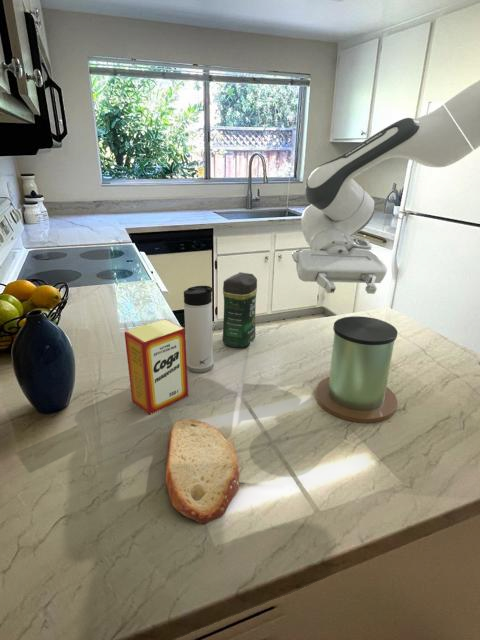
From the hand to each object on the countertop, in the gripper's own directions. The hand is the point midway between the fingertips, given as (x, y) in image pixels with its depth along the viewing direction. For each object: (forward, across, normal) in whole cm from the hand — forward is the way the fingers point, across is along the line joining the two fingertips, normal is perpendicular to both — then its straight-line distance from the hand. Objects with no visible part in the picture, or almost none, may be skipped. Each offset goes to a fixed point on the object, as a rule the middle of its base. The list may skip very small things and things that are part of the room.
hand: (352, 291), depth 85 cm
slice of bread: (+30, -34, +12) cm, 47 cm away
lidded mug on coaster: (+18, -1, +14) cm, 22 cm away
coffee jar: (-12, -18, +29) cm, 36 cm away
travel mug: (0, -30, +25) cm, 39 cm away
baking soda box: (+11, -40, +21) cm, 46 cm away
